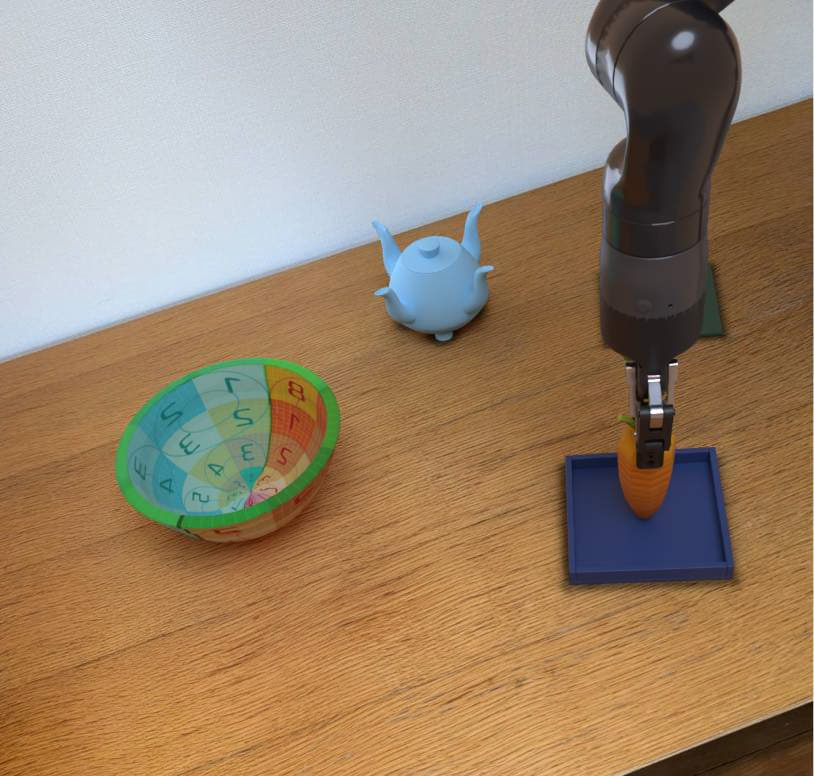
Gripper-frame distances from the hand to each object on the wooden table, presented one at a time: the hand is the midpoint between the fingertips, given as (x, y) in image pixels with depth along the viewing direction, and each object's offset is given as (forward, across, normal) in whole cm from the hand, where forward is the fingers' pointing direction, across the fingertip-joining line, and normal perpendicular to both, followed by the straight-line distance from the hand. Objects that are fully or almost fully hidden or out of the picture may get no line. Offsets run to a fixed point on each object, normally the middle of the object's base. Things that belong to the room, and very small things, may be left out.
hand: (646, 441), depth 85 cm
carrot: (+11, 0, 0) cm, 11 cm away
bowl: (+11, +5, +39) cm, 41 cm away
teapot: (+11, +32, +21) cm, 40 cm away
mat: (+11, +31, -4) cm, 33 cm away
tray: (+11, 0, 0) cm, 11 cm away
